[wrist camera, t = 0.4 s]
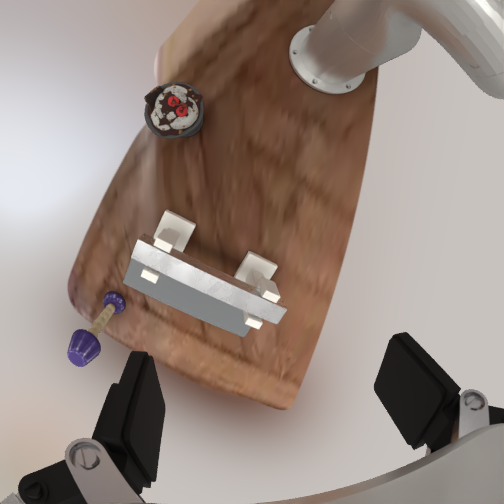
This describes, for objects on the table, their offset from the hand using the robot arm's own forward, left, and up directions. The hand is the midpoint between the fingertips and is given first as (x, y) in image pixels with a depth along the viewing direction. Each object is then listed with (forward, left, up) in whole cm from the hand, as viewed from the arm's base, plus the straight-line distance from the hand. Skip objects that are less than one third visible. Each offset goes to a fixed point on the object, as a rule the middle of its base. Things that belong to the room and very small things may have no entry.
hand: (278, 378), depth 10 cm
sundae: (-8, -13, -33) cm, 37 cm away
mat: (+16, 0, -33) cm, 37 cm away
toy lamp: (+24, -12, -33) cm, 43 cm away
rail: (+8, 0, -23) cm, 25 cm away
